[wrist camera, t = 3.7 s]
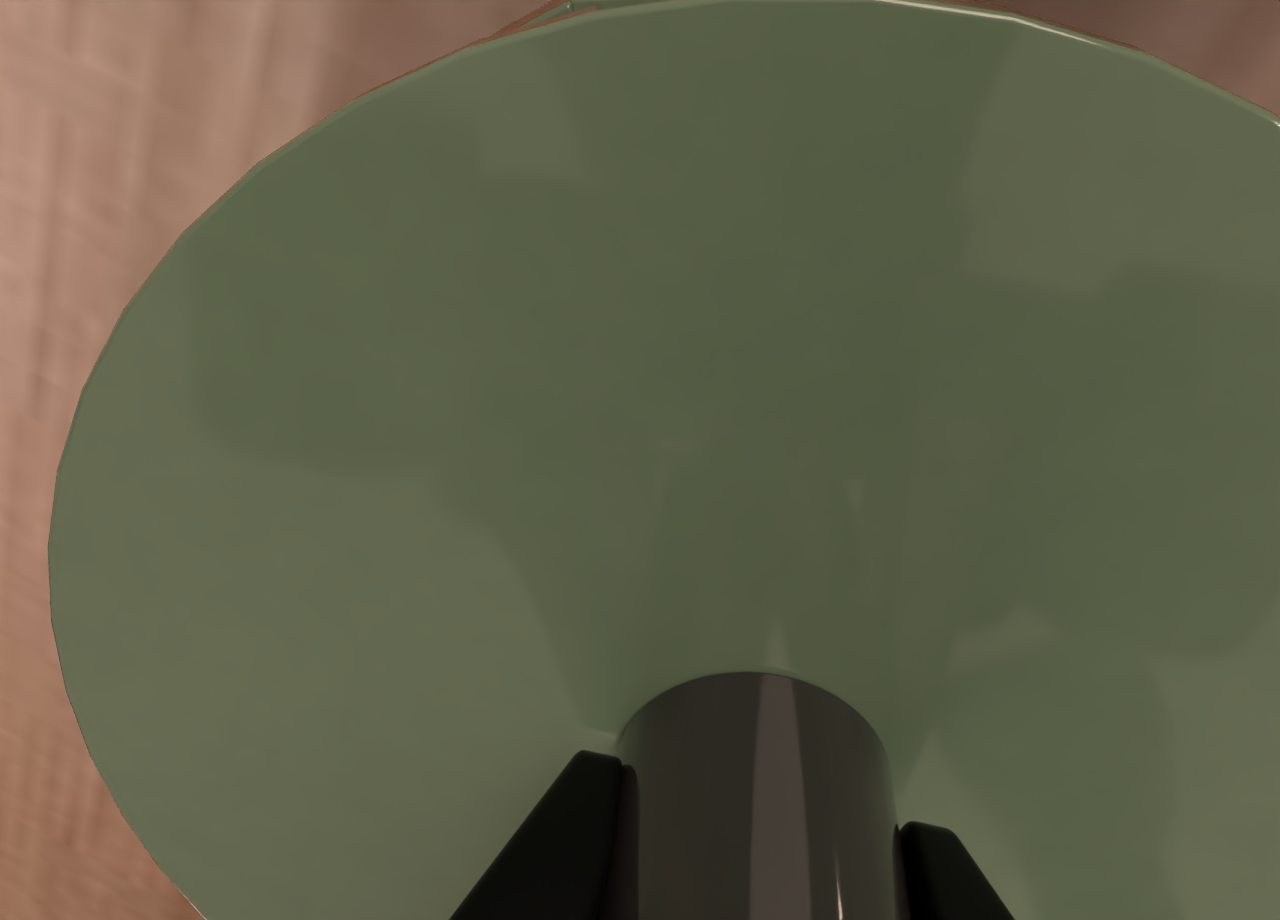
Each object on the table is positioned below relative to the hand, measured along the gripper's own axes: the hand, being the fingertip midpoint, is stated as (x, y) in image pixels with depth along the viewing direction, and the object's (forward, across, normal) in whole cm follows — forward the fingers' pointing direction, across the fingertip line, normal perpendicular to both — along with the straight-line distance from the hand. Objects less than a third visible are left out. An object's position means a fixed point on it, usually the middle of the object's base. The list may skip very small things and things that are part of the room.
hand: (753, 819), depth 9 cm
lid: (+1, 0, 0) cm, 1 cm away
